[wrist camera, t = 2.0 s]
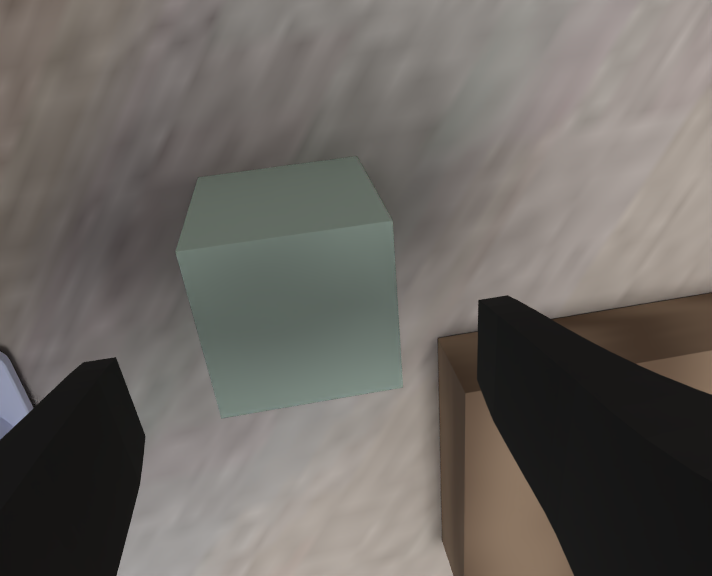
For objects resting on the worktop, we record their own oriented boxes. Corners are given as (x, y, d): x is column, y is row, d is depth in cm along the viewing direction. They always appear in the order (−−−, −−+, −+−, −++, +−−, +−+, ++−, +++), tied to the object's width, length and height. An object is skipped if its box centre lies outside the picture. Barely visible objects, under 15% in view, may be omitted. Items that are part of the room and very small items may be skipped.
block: (230, 312, 18) (221, 418, 14) (198, 176, 16) (175, 251, 11) (368, 290, 18) (402, 387, 14) (356, 155, 16) (392, 220, 12)
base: (442, 541, 25) (463, 606, 22) (438, 338, 20) (465, 393, 17) (673, 495, 26) (719, 552, 23) (730, 289, 20) (798, 335, 18)
